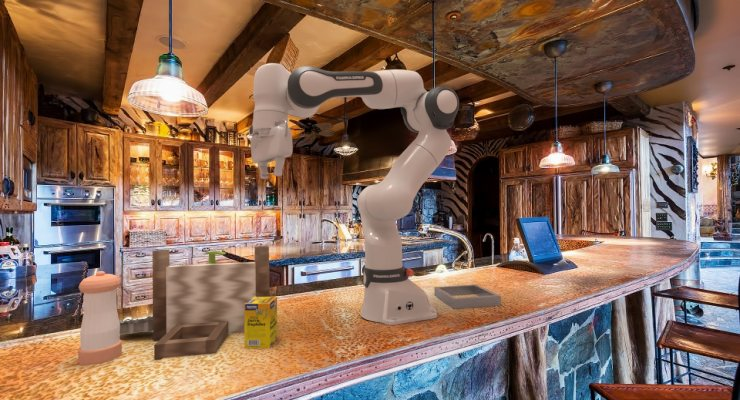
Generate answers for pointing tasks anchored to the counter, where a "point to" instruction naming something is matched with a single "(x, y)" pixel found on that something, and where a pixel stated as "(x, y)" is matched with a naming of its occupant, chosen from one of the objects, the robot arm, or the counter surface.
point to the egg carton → (136, 325)
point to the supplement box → (260, 322)
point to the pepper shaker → (99, 320)
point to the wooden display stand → (202, 302)
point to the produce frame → (481, 300)
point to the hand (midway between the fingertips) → (271, 177)
